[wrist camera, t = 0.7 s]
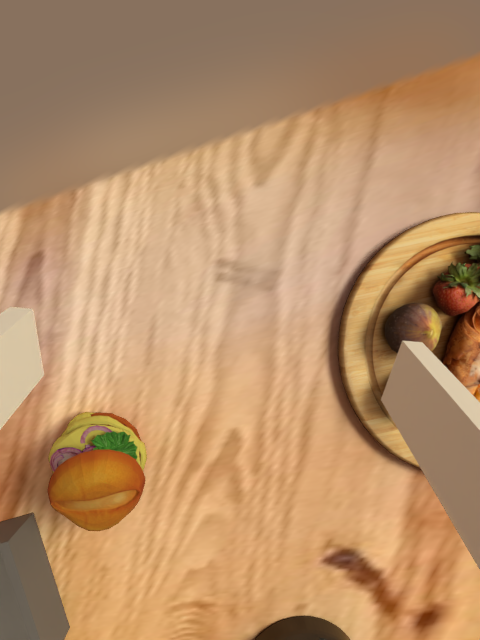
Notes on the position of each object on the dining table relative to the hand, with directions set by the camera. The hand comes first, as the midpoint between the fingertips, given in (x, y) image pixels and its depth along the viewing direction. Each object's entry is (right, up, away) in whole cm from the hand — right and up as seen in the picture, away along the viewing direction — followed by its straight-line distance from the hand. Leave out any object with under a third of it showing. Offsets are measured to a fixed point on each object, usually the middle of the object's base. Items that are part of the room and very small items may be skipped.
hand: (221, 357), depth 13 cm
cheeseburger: (-15, -14, +29) cm, 36 cm away
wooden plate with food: (+28, -2, +31) cm, 42 cm away
